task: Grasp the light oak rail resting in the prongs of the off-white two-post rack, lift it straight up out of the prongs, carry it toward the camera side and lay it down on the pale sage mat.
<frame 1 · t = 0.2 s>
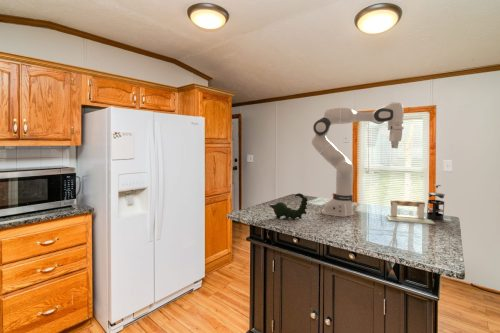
hand: (394, 148, 178), 47 cm above the worktop, fingers open, 8 cm apart
french press: (435, 218, 178), on the worktop
toy figurine: (288, 219, 181), on the worktop
mat: (410, 220, 174), on the worktop
rack: (406, 216, 182), on the worktop
rail: (407, 205, 181), point 8 cm above the worktop, touching rack
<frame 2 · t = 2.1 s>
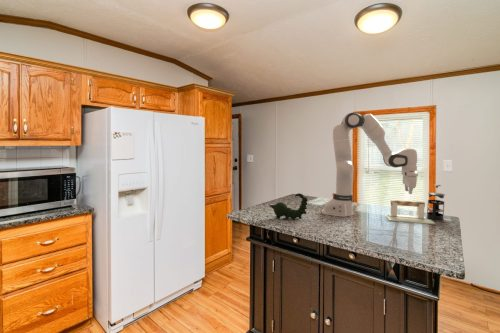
hand: (408, 192, 180), 17 cm above the worktop, fingers open, 8 cm apart
nothing on the worktop moved.
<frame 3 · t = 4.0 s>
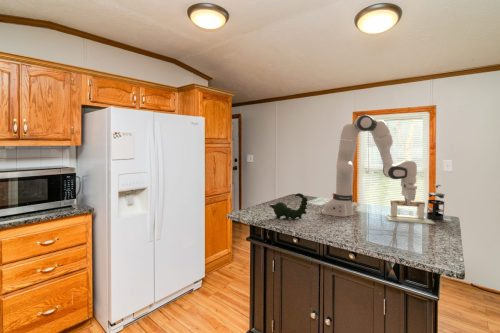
hand: (407, 204, 181), 9 cm above the worktop, fingers closed on rail, 3 cm apart
rail: (407, 205, 181), point 8 cm above the worktop, touching gripper, rack
everything else where it was.
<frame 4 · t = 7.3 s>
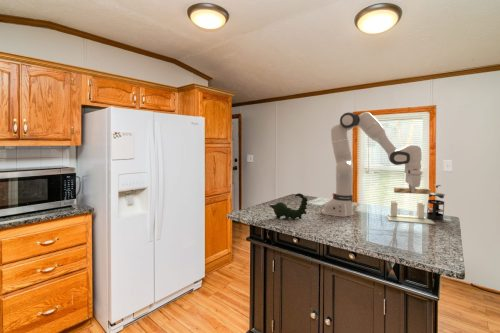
hand: (411, 191, 172), 19 cm above the worktop, fingers closed on rail, 3 cm apart
rail: (411, 192, 172), point 18 cm above the worktop, touching gripper
everything else where it was.
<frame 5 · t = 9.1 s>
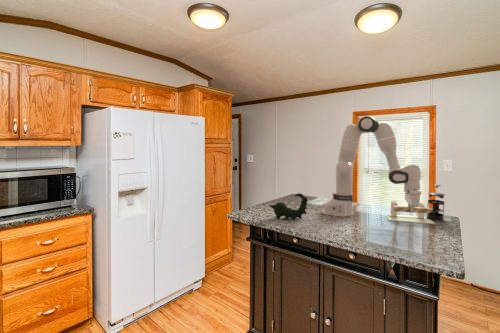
hand: (410, 210, 173), 7 cm above the worktop, fingers closed on rail, 3 cm apart
rail: (411, 211, 173), point 6 cm above the worktop, touching gripper
everything else where it was.
when the fingers open (3 cm above the worktop, at t = 10.7 s): rail drops 1 cm, resting on mat.
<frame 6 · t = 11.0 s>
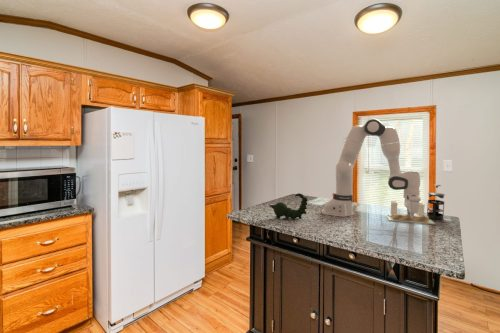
hand: (410, 216, 173), 3 cm above the worktop, fingers open, 5 cm apart
rail: (410, 219, 173), point 1 cm above the worktop, touching mat
everything else where it was.
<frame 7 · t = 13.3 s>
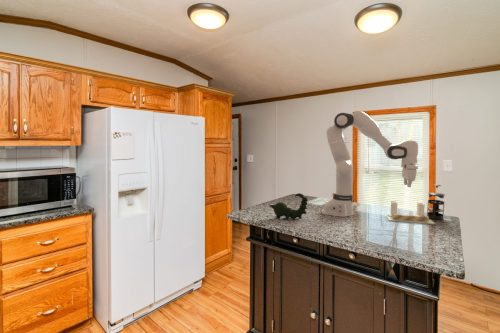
hand: (407, 185, 175), 23 cm above the worktop, fingers open, 8 cm apart
nothing on the worktop moved.
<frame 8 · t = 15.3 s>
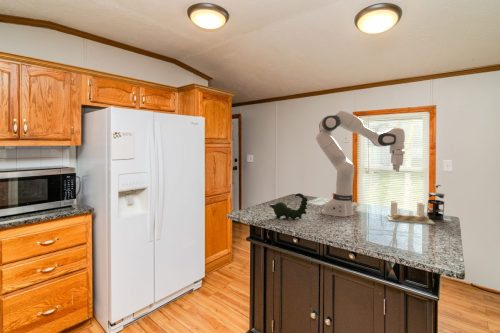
hand: (395, 170, 186), 31 cm above the worktop, fingers open, 8 cm apart
nothing on the worktop moved.
at the end: rail inside the target area on the mat (0.0 cm from its centre), point 0.6 cm above the mat's base; rail touching mat; the gripper is holding nothing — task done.
